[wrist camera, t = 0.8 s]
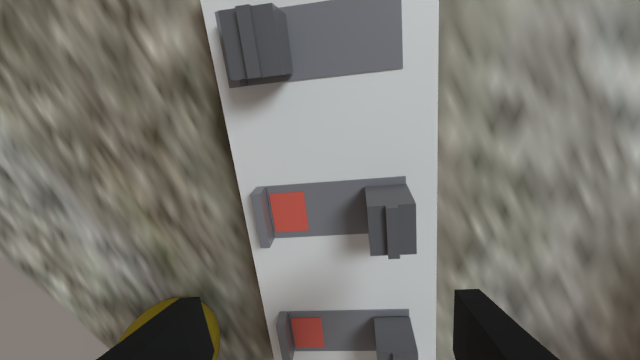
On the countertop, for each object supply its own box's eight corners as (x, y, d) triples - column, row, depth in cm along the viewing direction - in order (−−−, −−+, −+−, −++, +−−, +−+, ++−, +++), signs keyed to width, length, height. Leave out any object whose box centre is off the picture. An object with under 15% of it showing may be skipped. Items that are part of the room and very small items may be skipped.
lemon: (158, 322, 24) (67, 441, 16) (166, 263, 22) (68, 366, 14) (229, 344, 24) (172, 472, 16) (243, 286, 22) (187, 401, 14)
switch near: (240, 20, 14) (214, 9, 11) (285, 13, 13) (269, 0, 11) (250, 78, 14) (228, 80, 12) (293, 73, 14) (280, 74, 12)
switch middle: (364, 186, 16) (367, 209, 13) (406, 183, 15) (417, 206, 13) (367, 230, 16) (370, 259, 14) (407, 228, 16) (418, 257, 14)
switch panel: (217, -19, 16) (180, -42, 12) (425, -52, 14) (447, -89, 11) (284, 342, 23) (273, 389, 20) (426, 341, 22) (440, 391, 18)
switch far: (373, 317, 18) (377, 357, 16) (409, 316, 18) (419, 357, 15) (376, 349, 19) (379, 393, 16) (410, 349, 19) (419, 393, 16)
